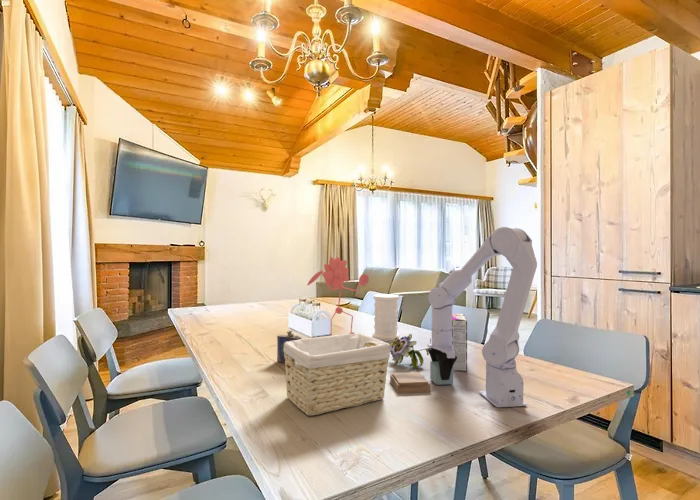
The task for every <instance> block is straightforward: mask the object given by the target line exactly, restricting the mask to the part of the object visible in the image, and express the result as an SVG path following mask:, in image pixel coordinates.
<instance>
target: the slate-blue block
mask: <svg viewBox="0 0 700 500" xmlns="http://www.w3.org/2000/svg"><path fill="white" fill-rule="evenodd" d="M429 365H430V366H429V367H430V368H429V370H430V372H429V373H430V374H429V377H430V378H429V379H430V380H431V381H432V382H433V383H434V384H435V385H436V386H437V385H438V386H439V385H454V370H453V367H452V370H451V374H450V378H449V380H442V379H441V376H440V368H439V363H438V361H435V362H432V361H430V363H429Z"/></svg>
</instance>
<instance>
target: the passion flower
mask: <svg viewBox="0 0 700 500" xmlns="http://www.w3.org/2000/svg"><path fill="white" fill-rule="evenodd" d="M412 338H413V333H409V334H408V336H407V335H404V336H402V337H399V338H395V339H394V340H392V342H391V344H390V356H391V355H392V356H391V357H392V359H391V361H394V362H393V365H395V366H396V365H398V364H401V363H402V362H403V360H404V357H405V358H409V357H410V358H411V359H410V360H411V364H412V368H414V369H416V370H417V369H418V364H419V362H420V366H421V367H423V364H424V362H425V361H424V357H423V354H422V353H421V352H422V351H426V355H427V356H430V354H429V352H428V350H427V349H428V348H424V349H419V350H415V348H414V346H415V345H417V341H416V340H413V341H411V340H412ZM420 351H421V352H420ZM417 357H418V358H417ZM418 360H419V361H418Z"/></svg>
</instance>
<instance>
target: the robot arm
mask: <svg viewBox="0 0 700 500" xmlns="http://www.w3.org/2000/svg"><path fill="white" fill-rule="evenodd" d="M497 256H503V257H505V259H506V260H507V261H508V263H509V264H510V266H511V268H512V270H511V273H510V276H509V280H508V283H507V286H506V290H505V294H504V298H503V301H502V304H501V308H500V312H499V315H498V318H497V323H496V325H495V328H494V329H493V331H491V334H489V338H488V340H487V342H485V343H484V345H483V346H482V350H481V354H482V357H483V359H484V360H485V362H486V363H485V390H480V391H479V394H480V395H481V396H482V397H484V398H485V399H486V400H487V401H489V402H490V403H491V404H492V405H493V406H495V408H509V407H511V408H512V407H513V408H514V407H526V406H527V403H526V402H525V401H524V378H523V376H522V375H521V374H520V373H519V372H518V370H517V363H516V359H515V358H517V357H518V355H519V353H520V346H519V340H520V333H519V328H520V324H521V321H522V318H523V314H524V311H525V308H526V304H527V300H528V297H529V296H530V295H529V294H530V291H531V287H532V284H533V281H534V277H535V273H536V271H537V267H538V262H537V258H536V255H535V252H534V247H533V240H532V238H531V237H530V236H529V235H528V233H527V232H526V231H524V230H523V229H521V228H517V227H515V228H511V227H507V226H501V227H498V228H497V229H495V230H494V231H493V233H492V234H491V235H489V236H487V237H486V238H485V240H484V242H483V243H482V245H480V247H479V248H478V249H477V250H476V251H475V253H474V254H473V255H472V256H471V257H470V258H469V259H468V260H467V262H466V263H465V264H464V265H463V267H459V268H458V267H456V268H455V269H451V270H449V272H448V276H447V277H446V278H445V279H444V280H443V281H441V282H439V283H438V287H433V288H432V289H430V291H429V292H428V294H427V295H428V296H427V300H428V303H429V305H430V306H431V338H429V343H427V348H426V349H427V350H428V353H429V356H430V358H431V362H435V361H438V363H439V368H440V376H441V379H442V380H449V378H450V374H451V370H452V367H453V365H454V363H455V361H456V360H457V356H456V355H455V351H454V350H453V345H452V313H453V306H454V305H455V303H456V301H457V298H458V297H459V296H460V295H461V294H462V293H463V292H464V291H465V290H466V289H467V288H468V287H469V286H470V285H471V284H472V277H473V275H475V274H476V273H477V272H478V271H479V270H480V269H481V268H483V266H485V264H487V263H488V262H489V261H490V260H491V259H492V258H494V257H497Z"/></svg>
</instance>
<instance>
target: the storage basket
mask: <svg viewBox="0 0 700 500" xmlns="http://www.w3.org/2000/svg"><path fill="white" fill-rule="evenodd" d="M332 335H333V334H332ZM390 349H391V344H390V343H389V342H385V341H384V340H378V339H375V338H373V337H372V336H370V335H368V334H367V335H366V334H363V333H360V332H359V333H354V334H349V333H344V334H342V333H341V334H335V335H333V336H331V335H327V336H317V337H308V338H307V337H306V338H301V339H299V340H293V341H289V342H288V341H286V342H285V343H284V350H283V351H284V358H285V363H284V365H285V381H286V386H285V388H286V397H287V399H289V400H290V401H291V402H292V403H293V404H294V405H295V406H296V407H297V409H299V410H301V411H302V413H305V414H306V416H309V417H312V416H317V415H322V414H325V413H329V412H335V411H338V410H340V409H344V408H346V409H347V408H350V407H351V408H352V407H357V406H361V405H363V404H367V403H372V402H375V401H379V400H380V401H381V400H383V399H384V398H385V389H386V383H387V382H386V381H387V372H388V366H389V363H388V362H389V359H390V356H391V352H390Z"/></svg>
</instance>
